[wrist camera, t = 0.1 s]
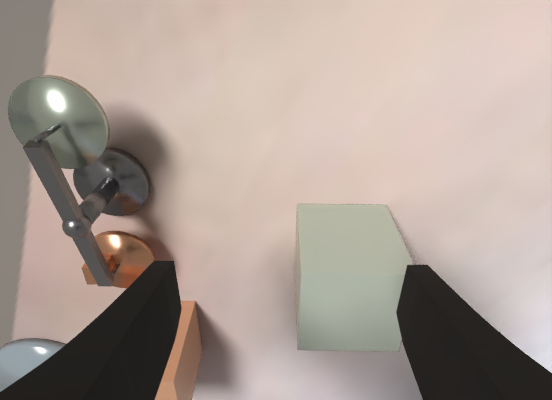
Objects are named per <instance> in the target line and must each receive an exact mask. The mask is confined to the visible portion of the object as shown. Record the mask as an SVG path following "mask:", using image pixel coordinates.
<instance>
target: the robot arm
mask: <svg viewBox="0 0 552 400" xmlns="http://www.w3.org/2000/svg"><path fill="white" fill-rule="evenodd" d="M181 310H182V307H181V301H180V295H179V289H178V283H177V277H176V272H175V266H174V261H153V262H152V263H151V264H150V265H149V266H148V267H147V268H146V269H145V270H144V271H143V272H142V273H141V275H140V276H139V277H138V278H137V279H136V280H135V281H134V282H133V283H132V284H131V285H130V286H129V287H128V288H127V289H126V290H125V291H124V292H123V293H122V294H121V295H120V296H119V297H118V298H117V299H116V300H115V301H114V302H113V303H112V304H111V305H110V306H109V307H108V308H107V309H106V310H105V311H104V312H103V313H101V314H100V315H99V316H98V317H97V318H96V319H95V320H94V321H93V322H92V323H90V324H89V325H88V326H87V327H86V328H85V329H84V330H83V331H82V332H80V333H79V334H78V335H77V336H76V337H75V338H73V339H72V340H71V341H70V342H69V343H67V344H66V345H65V346H64V347H62V348H61V349H60V350H59V351H57V352H56V353H55V354H53V355H52V356H51V357H49V358H48V359H47V360H46V361H44V362H43V363H41V364H40V365H39V366H37V367H36V368H34V369H33V370H32V371H30V372H29V373H27V374H26V375H24V376H23V377H21V378H20V379H19V380H17V381H16V382H14V383H13V384H11V385H10V386H8V387H7V388H5V389H4V390H3V391H1V392H0V400H155V397H156V395H157V392H158V389H159V386H160V383H161V380H162V377H163V374H164V371H165V369H166V366H167V363H168V360H169V357H170V354H171V351H172V348H173V345H174V342H175V338H176V334H177V330H178V325H179V320H180V315H181ZM396 314H397V319H398V324H399V328H400V333H401V337H402V341H403V345H404V348H405V351H406V354H407V356H408V359H409V362H410V365H411V368H412V370H413V373H414V376H415V379H416V381H417V384H418V387H419V390H420V392H421V395H422V398H423V400H552V373H551V372H549V371H548V370H547V369H545V368H544V367H543V366H541V365H540V364H539V363H537V362H536V361H535V360H533V359H532V358H530V357H529V356H528V355H526V354H525V353H524V352H523V351H521V350H520V349H519V348H518V347H516V346H515V345H514V344H513V343H511V342H510V341H509V340H508V339H507V338H505V337H504V336H503V335H502V334H501V333H500V332H498V331H497V330H496V329H495V328H494V327H492V326H491V325H490V324H489V323H488V322H487V321H486V320H485V319H483V318H482V317H481V316H480V315H479V314H478V313H477V312H476V311H475V310H474V309H473V308H471V307H470V306H469V305H468V304H467V303H466V302H465V301H464V300H463V299H462V298H461V297H460V296H459V295H458V294H457V293H456V292H455V291H454V290H453V289H452V288H451V287H450V286H448V285H447V284H446V283H445V282H444V281H443V280H442V279H441V278H440V277H439V276H438V275H437V274H436V273H435V272H434V271H433V270H432V269H431V268H430V267H429V266H428V265H407V268H406V272H405V276H404V281H403V285H402V289H401V294H400V298H399V302H398V306H397V311H396Z"/></svg>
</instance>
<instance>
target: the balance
mask: <svg viewBox="0 0 552 400" xmlns="http://www.w3.org/2000/svg"><path fill="white" fill-rule="evenodd" d="M8 116H9V121H10V124H11V127H12V129H13V131H14V133H15V135H16V137H17V138H18V140H19V141H20V143H21V144H22V145H23V146H24V147H23V149H24V151H25V152H26V154H27V156H28V158H29V160H30V162H31V163H32V165H33V167H34V169H35V171H36V173H37V174H38V176H39V178H40V180H41V182H42V184H43V185H44V187H45V189H46V191H47V193H48V195H49V196H50V198H51V200H52V202H53V204H54V206H55V207H56V209H57V211H58V213H59V215H60V217H61V218H62V220H63V223H62V228H63V231H64V232H65V234H66V235H68V236H69V237H72V238H73V240H74V242H75V244H76V246H77V248H78V249H79V251H80V253H81V255H82V257H83V259H84V260H85V264H84V265H83V267H82V270H83V273H84V276H85V279H86V282H87V284H98V286H115V287H120V288H128V287H129V286H130V285H131V284H132V283H133V282H134V281H135V280H136V279H137V278H138V277H139V276H140V275H141V273H142V272H143V271H144V270H145V269H146V268H147V267H148V266H149V265H150V264H151V263H152V262H153V261H155V257H154V254H153V252H152V250H151V249H150V247H149V246H148V245H147V244H146V243H145V242H144V241H142V240H141V239H140V238H138V237H136V236H134V235H132V234H129V233H126V232H122V231H107V232H103V233H100V234H98V235H96V236H95V237H94V235H93V233H92V231H91V225H92V224H93V223H94V221H95V220H96V219H97V217H98V216H99V215H100V214H101V212H102V213H105V214H108V215H114V216H123V215H128V214H131V213H133V212H135V211H137V210H138V209H139V208H140V207H141V206H142V205H143V203H144V202H145V200H146V199H147V197H148V195H149V191H150V180H149V176H148V174H147V172H146V170H145V168H144V167H143V166H142V164H141V163H140V162H139V161H138V160H137V159H136V158H134V157H133V156H131V155H130V154H128V153H126V152H124V151H122V150H119V149H115V148H107V146H108V142H109V137H110V128H109V123H108V119H107V116H106V114H105V112H104V110H103V108H102V107H101V105H100V104H99V102H98V101H97V100H96V99H95V97H94V96H93V95H92V94H91V93H90V92H88V91H87V90H86V89H85V88H83V87H82V86H80V85H79V84H77V83H75V82H73V81H71V80H69V79H66V78H63V77H59V76H52V75H45V76H39V77H35V78H32V79H30V80H27V81H25V82H23V83H22V84H20V85H19V86H18V87H17V88H16V89H15V90H14V92H13V93H12V95H11V97H10V100H9V105H8ZM61 168H65V169H74V173H73V180H74V185H75V188H76V190H77V192H78V194H79V195H80V196H81V198H82V199H83V200H84V201H83V202H82V203H81V204H80V205H78V203H77V200H76V198H75V196H74V194H73V192H72V190H71V188H70V186H69V184H68V182H67V180H66V178H65V176H64V174H63V172H62V170H61Z"/></svg>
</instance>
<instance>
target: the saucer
mask: <svg viewBox="0 0 552 400" xmlns="http://www.w3.org/2000/svg"><path fill="white" fill-rule="evenodd" d="M65 345H66V344H63V343H60V342H56V341H52V340H46V339H34V338H33V339H20V340H16V341H12V342H10V343H7V344H6V345H4V346H2V347H1V348H0V392H1V391H3V390H4V389H5V388H7V387H8V386H10V385H11V384H13V383H14V382H16V381H17V380H19V379H20V378H21V377H23V376H24V375H26V374H27V373H29V372H30V371H32V370H33V369H34V368H36V367H37V366H39V365H40V364H41V363H43V362H44V361H46V360H47V359H48V358H49V357H51V356H52V355H53V354H55V353H56V352H57V351H59V350H60V349H61V348H62V347H64V346H65Z"/></svg>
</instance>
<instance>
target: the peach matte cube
mask: <svg viewBox="0 0 552 400" xmlns="http://www.w3.org/2000/svg"><path fill="white" fill-rule="evenodd" d="M181 307H182V310H181V315H180V320H179V325H178V330H177V334H176V338H175V342H174V345H173V348H172V351H171V354H170V357H169V360H168V363H167V366H166V369H165V371H164V374H163V377H162V380H161V383H160V386H159V389H158V392H157V395H156V397H155V400H192V397H193V392H194V387H195V383H196V378H197V374H198V369H199V365H200V360H201V355H202V344H201V337H200V330H199V324H198V317H197V310H196V303H195V301H181Z"/></svg>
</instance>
